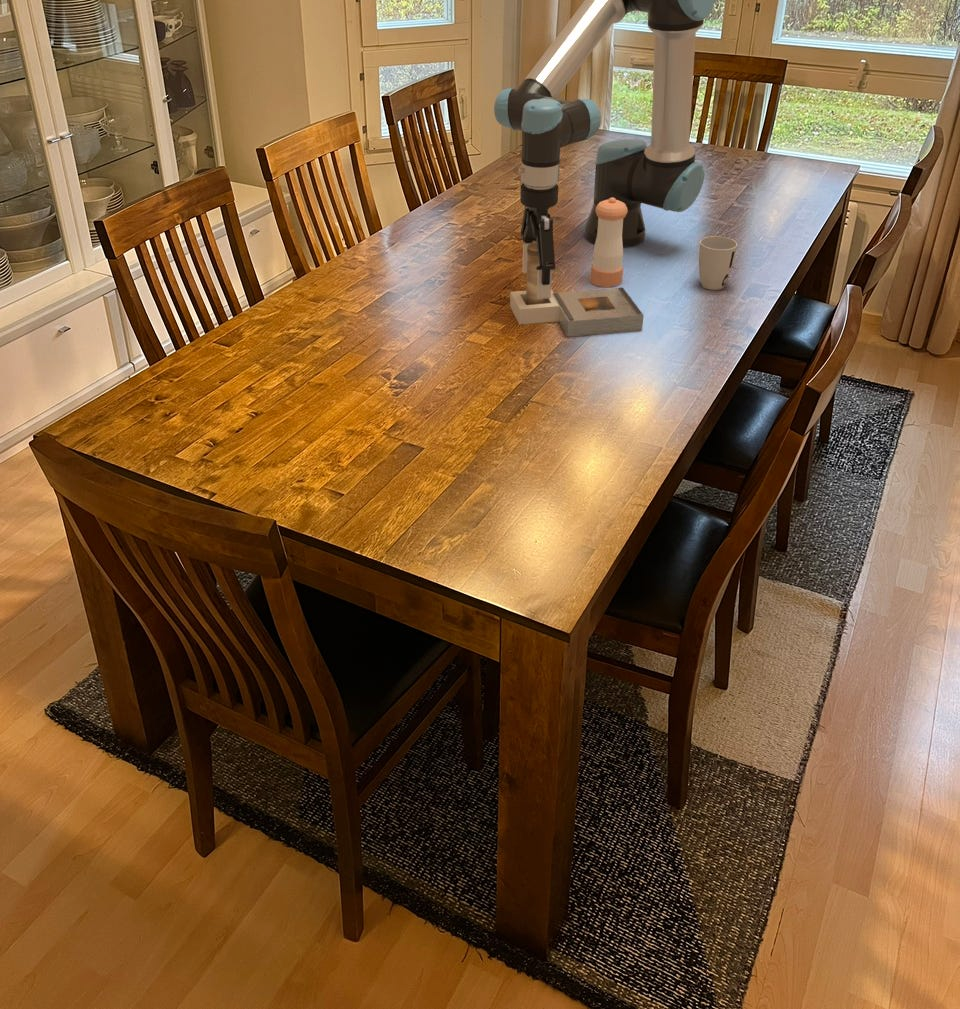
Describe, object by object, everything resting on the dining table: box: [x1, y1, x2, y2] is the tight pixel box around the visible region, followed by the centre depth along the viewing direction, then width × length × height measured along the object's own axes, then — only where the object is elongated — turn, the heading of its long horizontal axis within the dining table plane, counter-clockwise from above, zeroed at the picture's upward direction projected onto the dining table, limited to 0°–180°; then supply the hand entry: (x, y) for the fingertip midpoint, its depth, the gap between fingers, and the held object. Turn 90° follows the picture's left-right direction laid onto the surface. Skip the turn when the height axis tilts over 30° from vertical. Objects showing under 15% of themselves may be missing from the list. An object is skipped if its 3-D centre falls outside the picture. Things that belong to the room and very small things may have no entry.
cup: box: [698, 235, 738, 291], centre depth 223 cm, size 8×8×10 cm
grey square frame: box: [552, 287, 645, 338], centre depth 211 cm, size 14×16×4 cm
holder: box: [509, 288, 560, 326], centre depth 213 cm, size 9×9×4 cm
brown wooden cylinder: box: [525, 242, 545, 305], centre depth 209 cm, size 4×4×15 cm
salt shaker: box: [589, 197, 628, 288], centre depth 222 cm, size 7×7×19 cm
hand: (536, 284), depth 210 cm, fingers open, 13 cm apart
